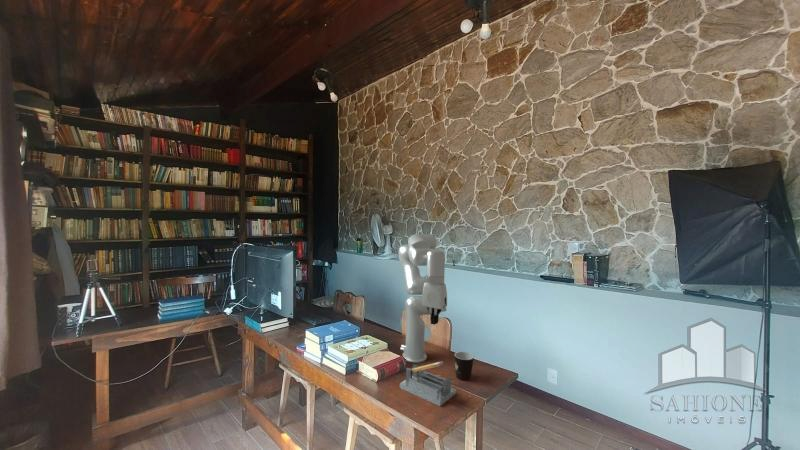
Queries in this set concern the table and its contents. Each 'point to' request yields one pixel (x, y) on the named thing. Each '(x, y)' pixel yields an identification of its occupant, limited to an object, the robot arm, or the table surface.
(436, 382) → the grey slotted holder
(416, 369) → the tan rectangular bar
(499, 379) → the table surface
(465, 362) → the coffee mug
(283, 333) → the table surface
